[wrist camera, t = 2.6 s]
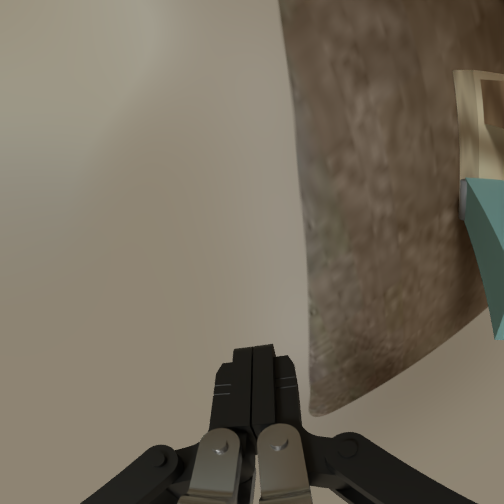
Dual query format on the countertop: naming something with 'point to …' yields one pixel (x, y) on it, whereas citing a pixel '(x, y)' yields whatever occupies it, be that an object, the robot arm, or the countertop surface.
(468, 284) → the countertop surface
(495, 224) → the folding leg
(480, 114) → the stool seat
